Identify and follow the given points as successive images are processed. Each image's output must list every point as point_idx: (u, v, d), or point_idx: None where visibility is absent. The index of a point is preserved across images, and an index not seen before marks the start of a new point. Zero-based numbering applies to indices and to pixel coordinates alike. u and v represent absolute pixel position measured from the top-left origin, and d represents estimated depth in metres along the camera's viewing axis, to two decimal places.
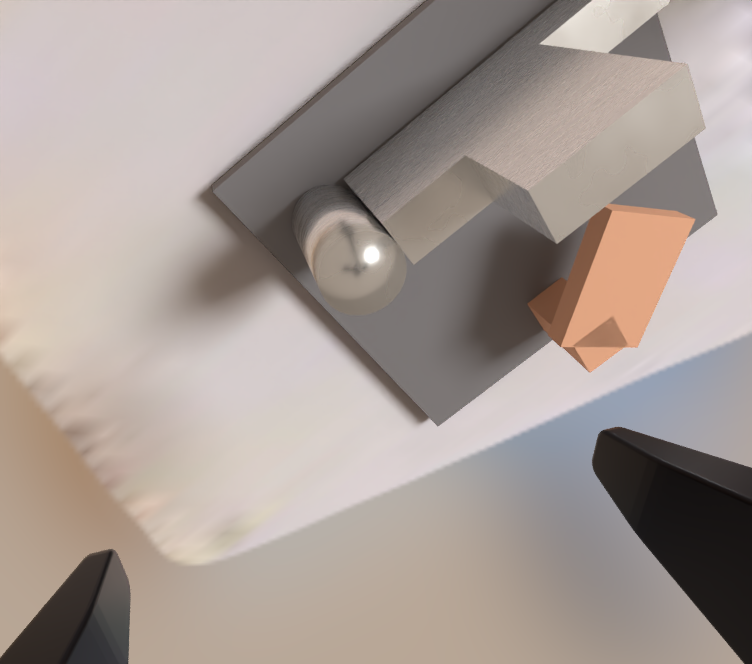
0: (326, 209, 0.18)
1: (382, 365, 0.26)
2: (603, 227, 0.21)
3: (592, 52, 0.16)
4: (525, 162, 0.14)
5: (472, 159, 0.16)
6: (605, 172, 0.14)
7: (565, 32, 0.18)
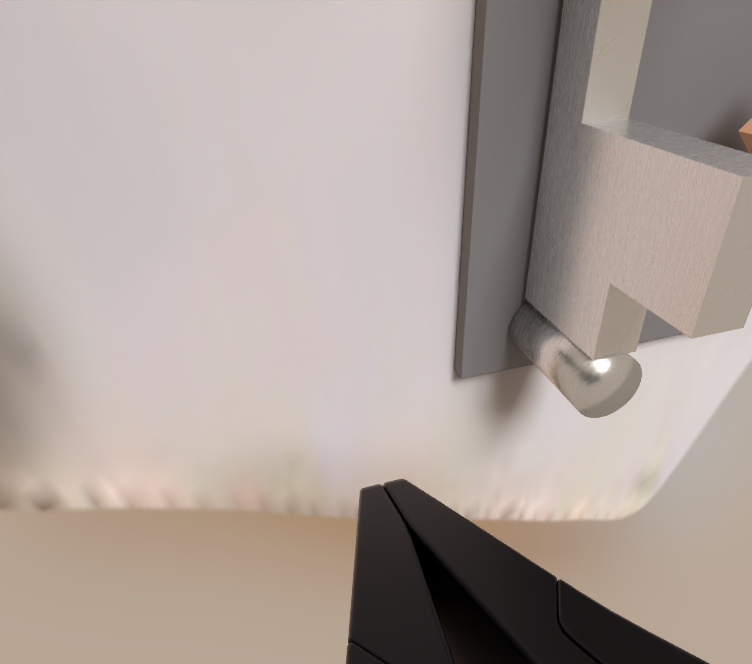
0: (541, 351, 0.23)
1: (658, 337, 0.28)
2: None
3: (641, 144, 0.16)
4: (667, 300, 0.16)
5: (619, 288, 0.18)
6: (740, 274, 0.15)
7: (593, 92, 0.18)
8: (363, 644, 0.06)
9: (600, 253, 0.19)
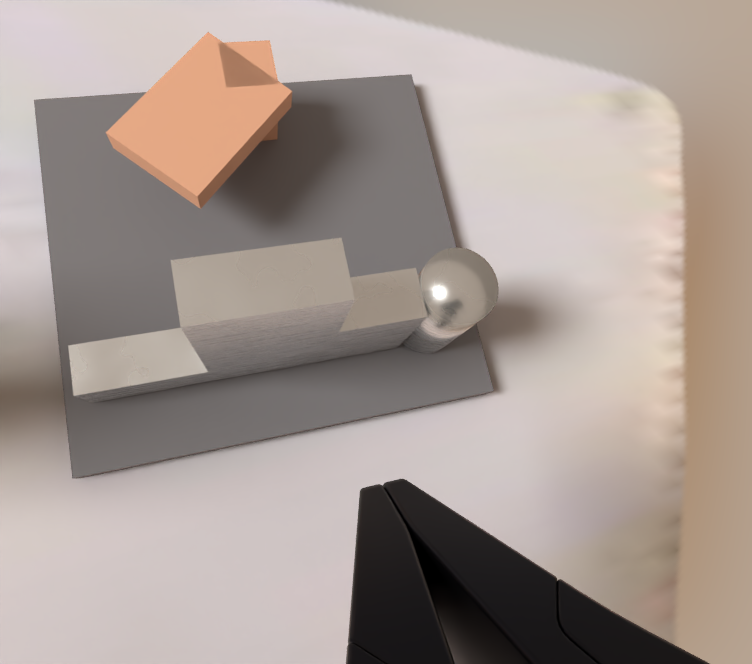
0: (439, 341, 0.22)
1: (434, 170, 0.27)
2: (209, 184, 0.20)
3: (199, 355, 0.17)
4: (327, 314, 0.16)
5: (340, 327, 0.18)
6: (280, 275, 0.15)
7: (180, 369, 0.20)
8: (363, 644, 0.06)
9: (315, 340, 0.19)
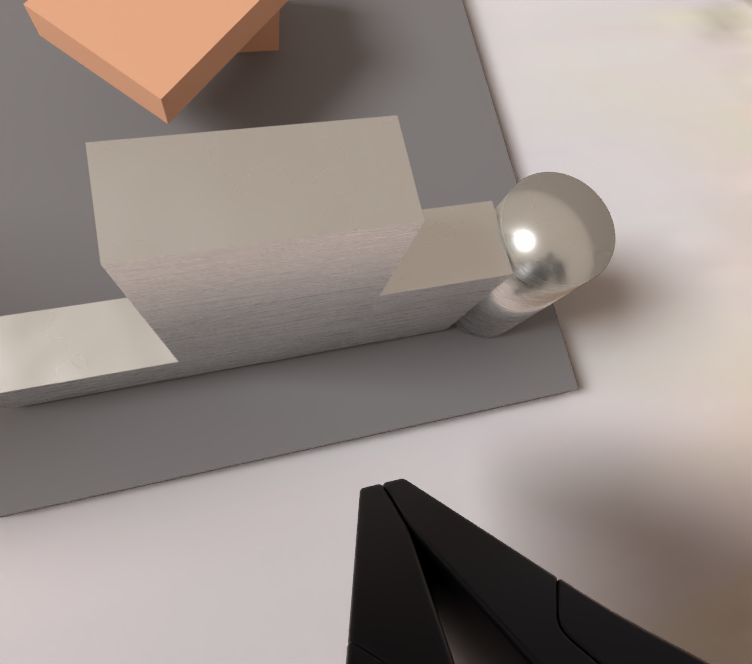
0: (515, 316, 0.15)
1: (488, 96, 0.20)
2: (179, 84, 0.14)
3: (157, 331, 0.11)
4: (371, 255, 0.09)
5: (383, 287, 0.11)
6: (291, 176, 0.08)
7: (137, 357, 0.13)
8: (363, 644, 0.06)
9: (340, 311, 0.12)
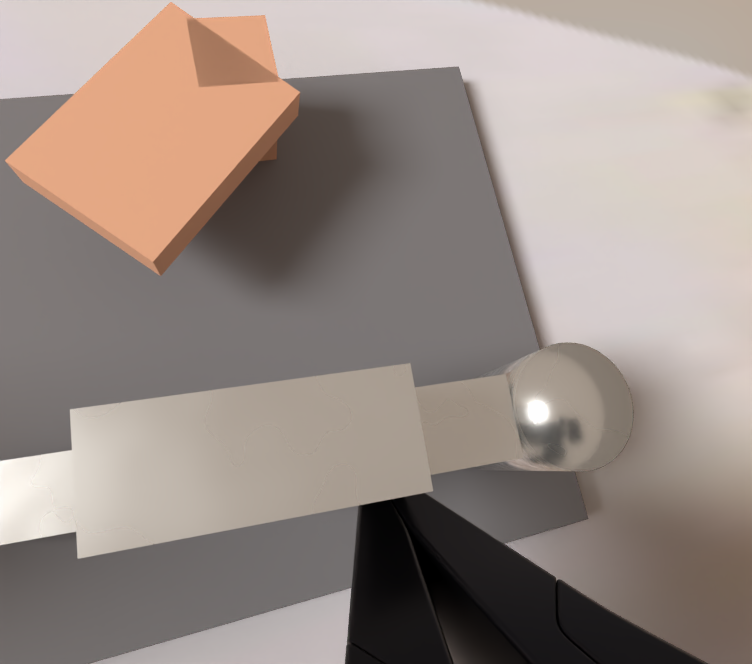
0: (523, 470, 0.14)
1: (494, 200, 0.19)
2: (172, 240, 0.13)
3: None
4: None
5: None
6: (291, 442, 0.07)
7: None
8: (362, 645, 0.06)
9: None
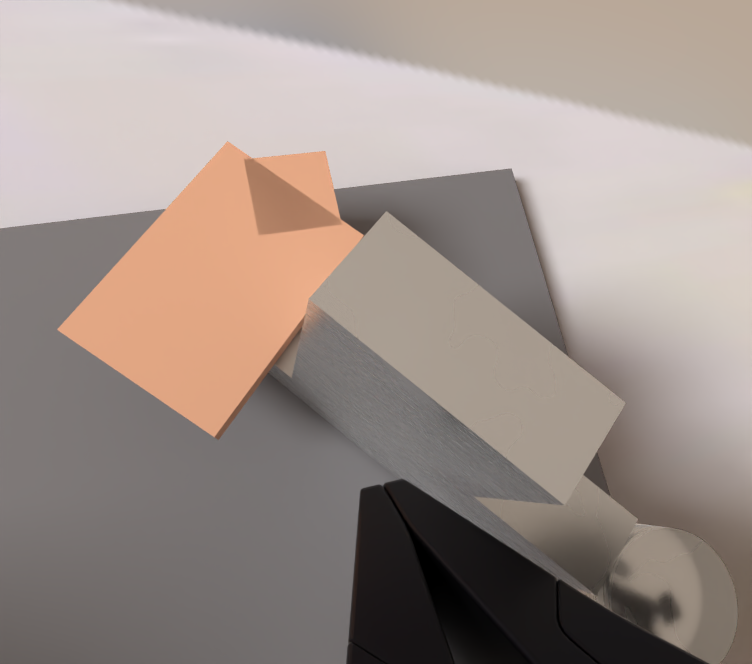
0: None
1: (552, 313, 0.18)
2: (233, 409, 0.12)
3: (298, 354, 0.11)
4: (496, 476, 0.09)
5: (482, 495, 0.11)
6: (498, 368, 0.08)
7: None
8: (363, 644, 0.06)
9: (433, 473, 0.12)
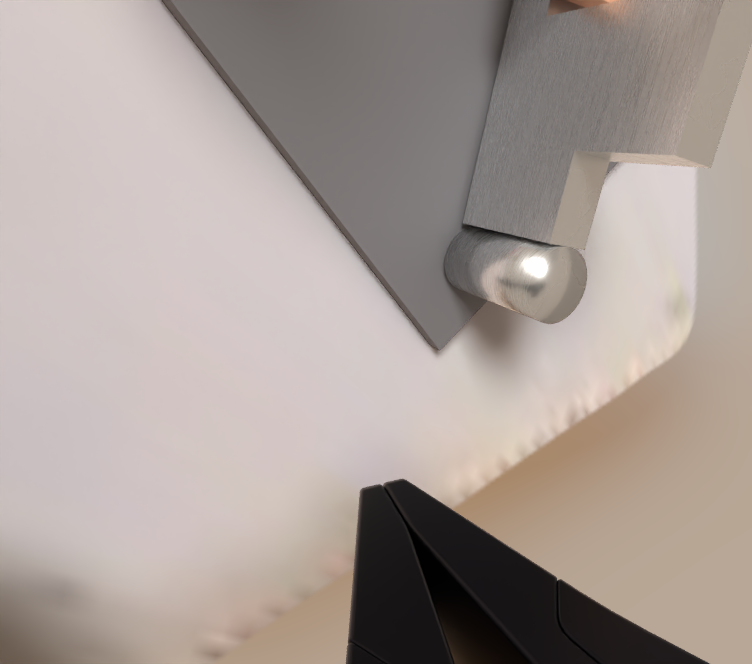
0: (485, 258, 0.21)
1: None
2: None
3: (615, 2, 0.17)
4: (645, 131, 0.16)
5: (585, 151, 0.18)
6: (716, 95, 0.16)
7: None
8: (363, 644, 0.06)
9: (563, 127, 0.19)
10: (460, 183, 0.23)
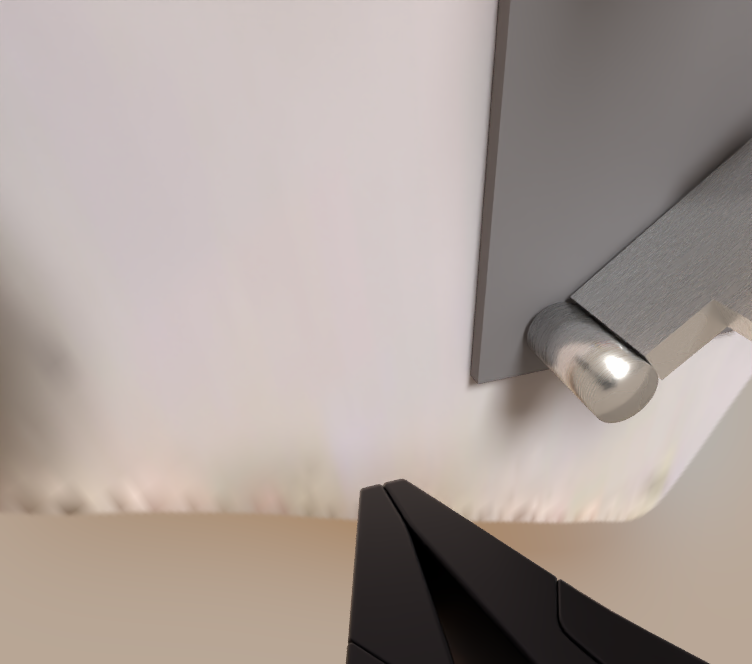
0: (578, 334, 0.23)
1: None
2: None
3: None
4: None
5: (723, 304, 0.20)
6: None
7: None
8: (363, 644, 0.06)
9: (714, 276, 0.21)
10: (590, 265, 0.25)
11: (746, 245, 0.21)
